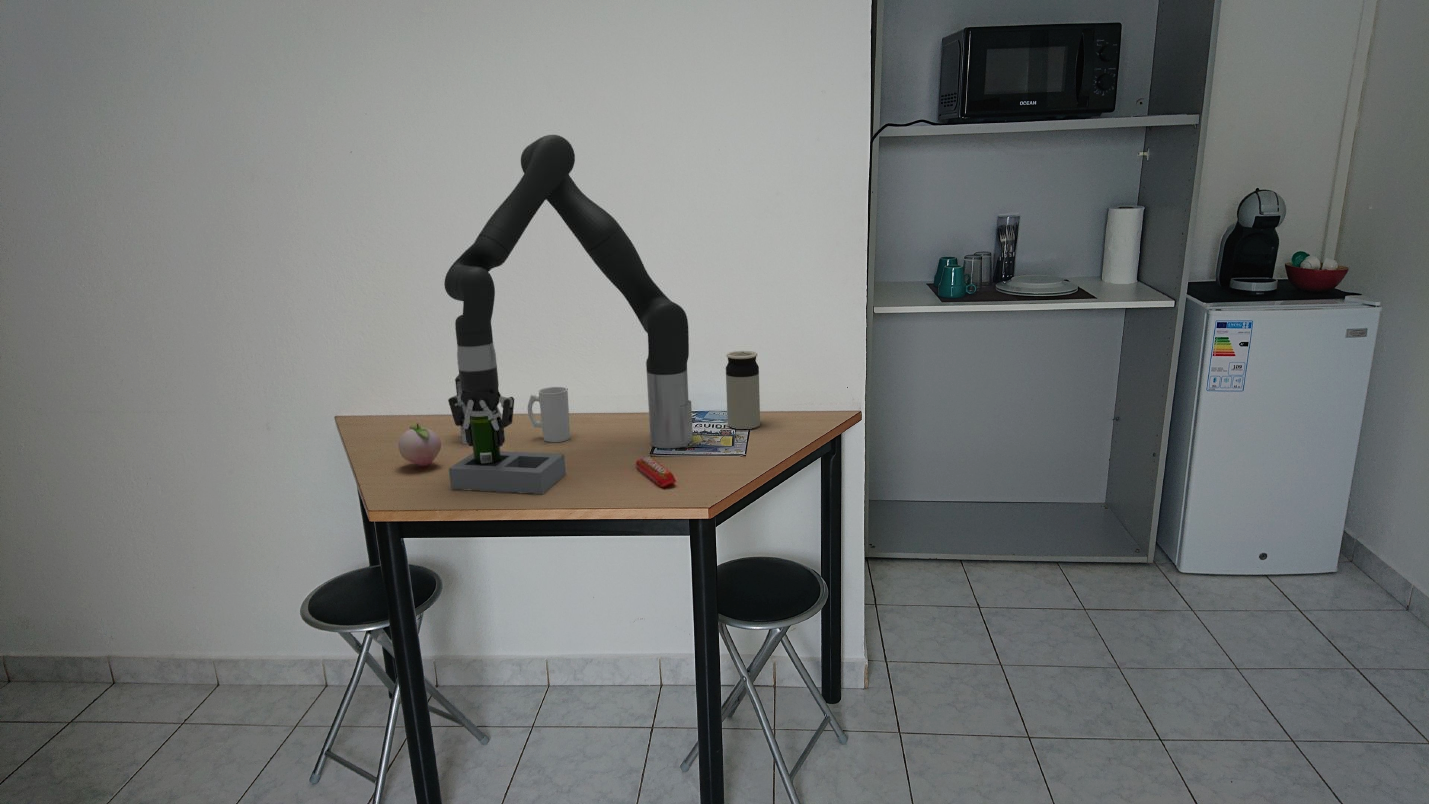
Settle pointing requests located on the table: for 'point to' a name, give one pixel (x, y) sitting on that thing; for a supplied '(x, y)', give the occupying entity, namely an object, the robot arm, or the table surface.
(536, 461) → the drink caddy
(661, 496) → the table surface
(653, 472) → the candy bar
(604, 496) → the table surface
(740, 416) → the travel mug
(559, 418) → the mug
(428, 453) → the decorative fruit
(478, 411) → the beer can
